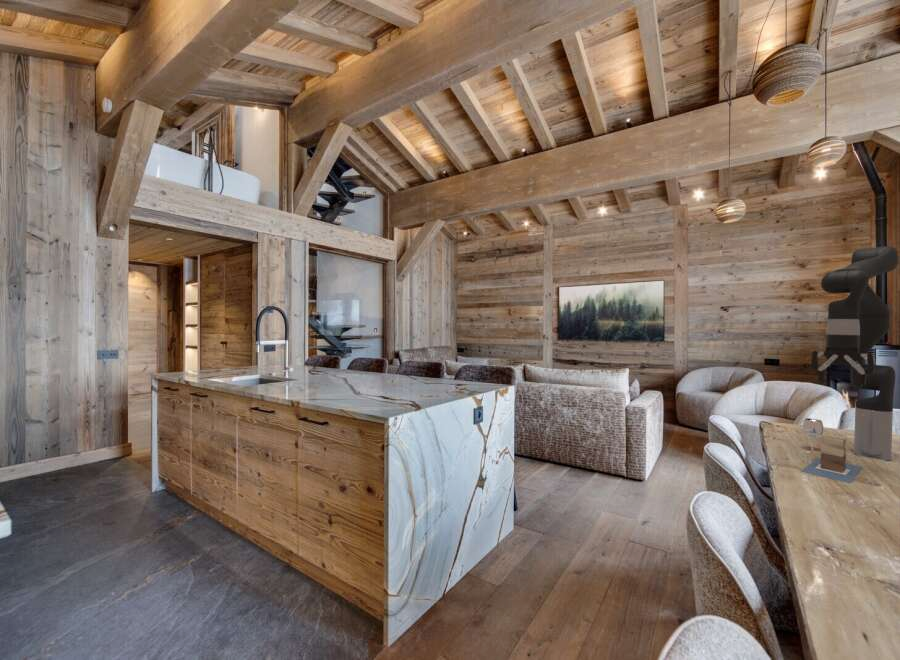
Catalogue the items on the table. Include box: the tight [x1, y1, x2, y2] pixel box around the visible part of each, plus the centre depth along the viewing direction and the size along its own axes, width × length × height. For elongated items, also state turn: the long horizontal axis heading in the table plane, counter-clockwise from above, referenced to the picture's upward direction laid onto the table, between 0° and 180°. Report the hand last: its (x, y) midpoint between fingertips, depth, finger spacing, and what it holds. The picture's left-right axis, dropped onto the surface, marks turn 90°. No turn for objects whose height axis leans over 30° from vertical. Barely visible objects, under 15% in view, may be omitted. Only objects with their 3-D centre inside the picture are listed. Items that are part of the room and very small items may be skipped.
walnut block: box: [820, 452, 847, 473], centre depth 125 cm, size 5×5×5 cm
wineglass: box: [802, 417, 825, 451], centre depth 146 cm, size 6×6×12 cm
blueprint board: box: [800, 457, 864, 484], centre depth 125 cm, size 23×11×1 cm, turn 127°
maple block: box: [820, 434, 847, 457], centre depth 125 cm, size 5×5×5 cm
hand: (841, 384), depth 125 cm, fingers open, 8 cm apart
